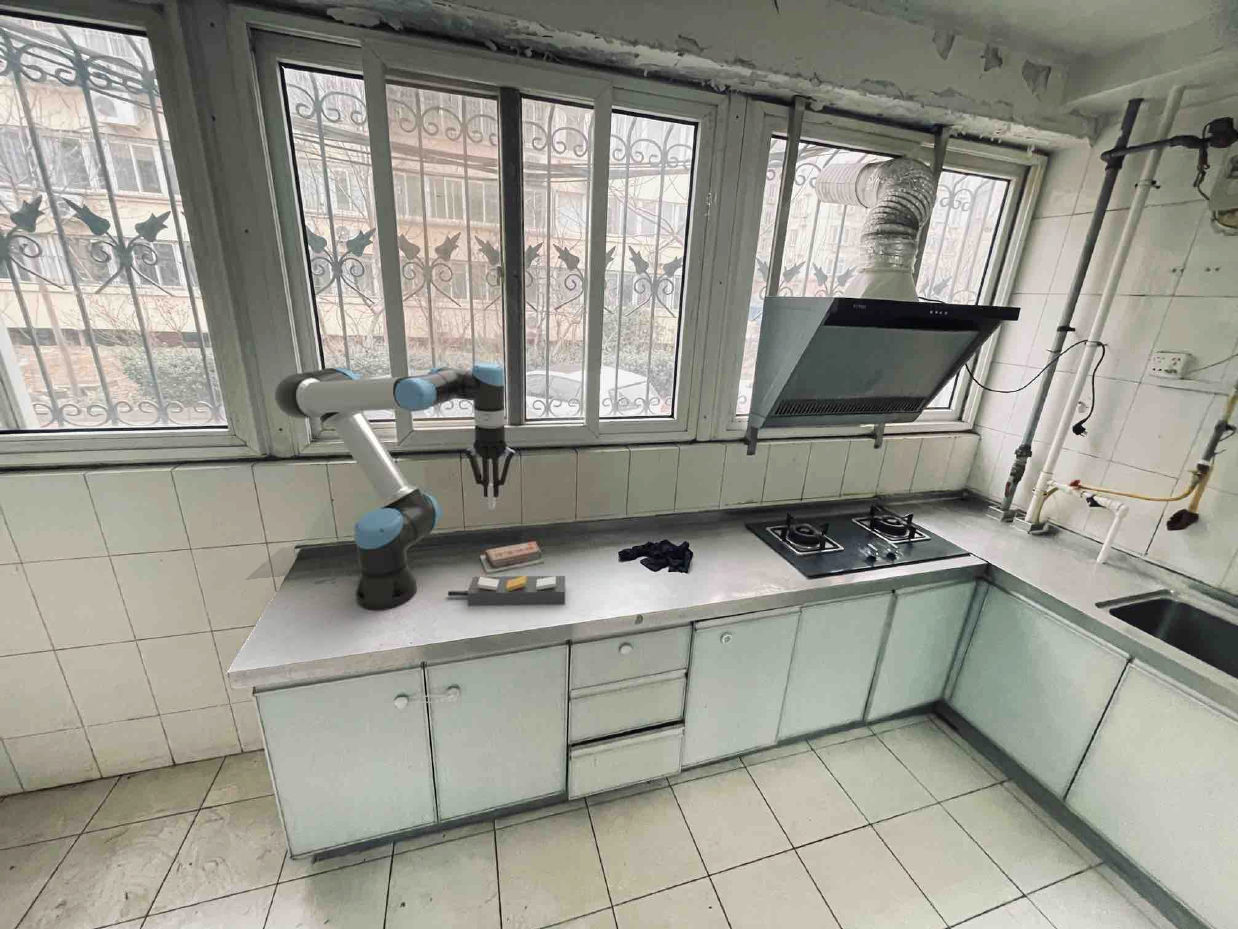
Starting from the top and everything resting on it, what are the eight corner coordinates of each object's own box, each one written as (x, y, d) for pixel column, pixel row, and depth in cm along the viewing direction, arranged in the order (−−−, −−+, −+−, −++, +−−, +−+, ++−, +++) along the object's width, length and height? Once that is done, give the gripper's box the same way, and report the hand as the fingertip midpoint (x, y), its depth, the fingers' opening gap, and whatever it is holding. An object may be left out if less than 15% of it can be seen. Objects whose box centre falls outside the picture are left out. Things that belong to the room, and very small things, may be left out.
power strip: (445, 606, 132) (444, 592, 130) (452, 589, 139) (451, 576, 138) (564, 604, 135) (564, 591, 134) (565, 587, 143) (565, 575, 141)
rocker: (536, 589, 133) (536, 586, 133) (537, 582, 137) (537, 579, 137) (555, 586, 134) (555, 583, 133) (556, 579, 137) (555, 576, 137)
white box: (477, 587, 132) (477, 584, 131) (479, 579, 135) (480, 576, 135) (496, 590, 132) (497, 587, 132) (498, 582, 136) (499, 579, 135)
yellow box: (507, 591, 133) (506, 588, 132) (508, 583, 136) (507, 580, 136) (525, 585, 133) (524, 582, 132) (526, 578, 136) (525, 575, 136)
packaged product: (534, 536, 162) (544, 550, 154) (534, 549, 163) (544, 564, 155) (479, 546, 154) (486, 561, 146) (479, 560, 156) (486, 576, 147)
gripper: (460, 427, 123) (464, 512, 131) (513, 429, 124) (513, 514, 132) (467, 419, 130) (470, 501, 138) (517, 422, 131) (517, 502, 139)
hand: (491, 507), depth 135 cm, fingers closed
